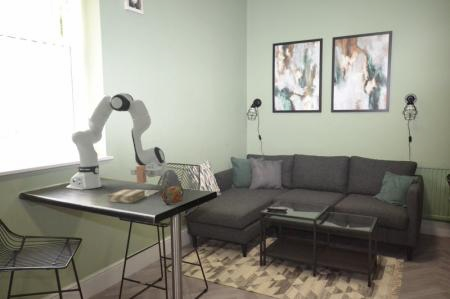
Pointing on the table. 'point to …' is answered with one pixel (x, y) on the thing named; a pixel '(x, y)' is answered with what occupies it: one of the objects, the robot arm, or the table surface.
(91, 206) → the table surface
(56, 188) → the table surface
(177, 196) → the tin
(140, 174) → the block
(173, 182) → the decorative rock
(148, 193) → the mat
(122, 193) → the deck
